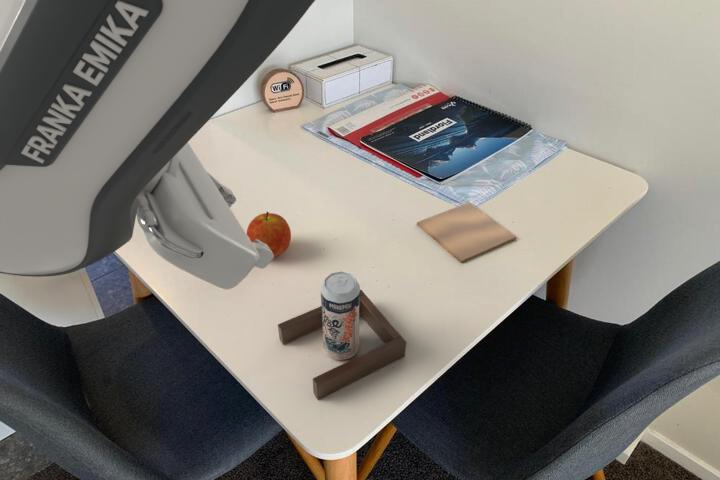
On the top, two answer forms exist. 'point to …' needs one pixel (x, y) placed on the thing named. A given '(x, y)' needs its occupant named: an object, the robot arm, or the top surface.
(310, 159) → the top surface
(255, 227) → the fruit
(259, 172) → the top surface
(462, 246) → the cork mat
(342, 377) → the can rack
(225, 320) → the top surface
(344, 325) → the beer can
